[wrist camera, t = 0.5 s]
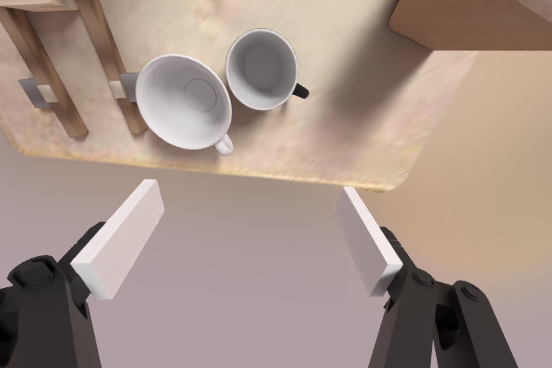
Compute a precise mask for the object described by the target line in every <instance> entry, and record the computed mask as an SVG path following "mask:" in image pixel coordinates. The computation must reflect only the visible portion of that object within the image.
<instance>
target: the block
mask: <svg viewBox="0 0 552 368" xmlns="http://www.w3.org/2000/svg"><path fill="white" fill-rule="evenodd" d="M388 26H389V27H390V28H391V30H393V31H395V32H397V33H399V34H401V35H403V36H405V37H407V38H409V39H411V40H413V41H415V42H417V43H419V44H421V45H423V46H425V47H427V48H429V49H431V50H510V51H511V50H514V51H515V50H516V51H517V50H520V51H521V50H522V51H523V50H526V51H527V50H528V51H535V50H537V51H539V50H540V51H542V50H543V51H545V50H546V51H548V50H549V51H552V0H399V2H398V4H397V6H396V8H395V10H394V12H393V14H392V16H391V18H390V20H389V23H388Z"/></svg>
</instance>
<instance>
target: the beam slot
mask: <svg viewBox="0 0 552 368" xmlns="http://www.w3.org/2000/svg"><path fill="white" fill-rule="evenodd" d="M75 1H76V3H77V5H78V8H79V10H80V12H81V15H82V17H83V19H84V22H85V24H86V27H87V29H88V31H89V34H90V36H91V38H92V41H93V43H94V45H95V48H96V50H97V52H98V55H99V57H100V60H101V62H102V64H103V67H104V69H105V71H106V74H107V76H108V78H109V85H110V87H111V89H112V92H113V94H114V96H115V99H116V98H117V100H118V102H119V104H120V107H121V109H122V112H123V114H124V116H125V119H126V121H127V123H128V126H129V128H130V130H131V133H132V134H138V133H142V132H143V131H145V130H146V129H147V126H146V124H145V121H144V119H143V117H142V115H141V113H140V111H139V108H138V105H137V101H136V92H135V90H136V82H137V79H138V76H139V74H140V73H126V71H125V68H124V65H123V63H122V60H121V58H120V55H119V52H118V50H117V47H116V44H115V42H114V39H113V36H112V34H111V31H110V28H109V26H108V23H107V21H106V18H105V15H104V13H103V10H102V7H101V5H100V2H99V0H75ZM0 21H1V22H2V24H3V26H4V27H5V29H6V31H7V32H8V34H9V36H10V37H11V39H12V41H13V43H14V44H15V46H16V48H17V49H18V51H19V53H20V54H21V56H22V58H23V59H24V61H25V63H26V64H27V66H28V68H29V70H30V71H31V73H32V75H33V76H34V78H32V79H23V80H18V81H19V83H20V84H21V86H22V87H23V89H24V91H25V92H26V94H27V95H28V97H29V98H30V100H31V102H32V103H33V105H34V106H35V108H40V107H52V108H53V110H54V112H55V113H56V115H57V117H58V119H59V120H60V122H61V124H62V125H63V127H64V129H65V130H66V132H67V134H68V135H69V137H70V138H73V137H80V136H82V135H84V134H86V133H89V132H88V130H87V128H86V126H85V124H84V122H83V120H82V119H81V117H80V115H79V113H78V111H77V109H76V107H75V105H74V104H73V102H72V100H71V98H70V96H69V94H68V92H67V90H66V89H65V87H64V85H63V83H62V81H61V79H60V77H59V76H58V74H57V72H56V70H55V68H54V66H53V64H52V62H51V61H50V59H49V57H48V55H47V53H46V51H45V49H44V47H43V46H42V44H41V42H40V40H39V38H38V36H37V34H36V32H35V31H34V29H33V27H32V25H31V23H30V21H29V19H28V17H27V16H26V14H25V12H24V10H21V9H15V8H10V7H4V6H0Z"/></svg>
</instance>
